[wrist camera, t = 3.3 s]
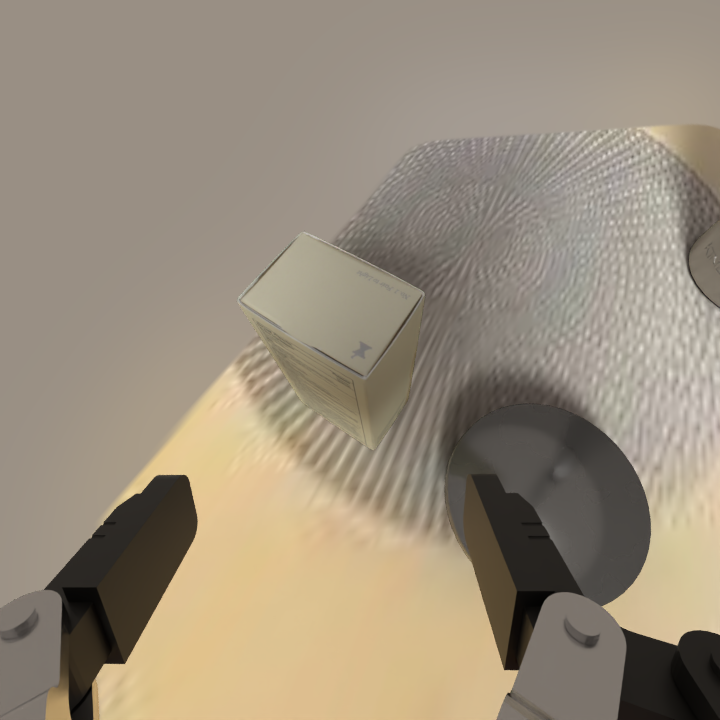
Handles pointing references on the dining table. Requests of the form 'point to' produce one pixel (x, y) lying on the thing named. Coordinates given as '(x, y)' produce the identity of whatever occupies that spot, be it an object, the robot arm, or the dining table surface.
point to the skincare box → (338, 333)
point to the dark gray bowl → (561, 490)
